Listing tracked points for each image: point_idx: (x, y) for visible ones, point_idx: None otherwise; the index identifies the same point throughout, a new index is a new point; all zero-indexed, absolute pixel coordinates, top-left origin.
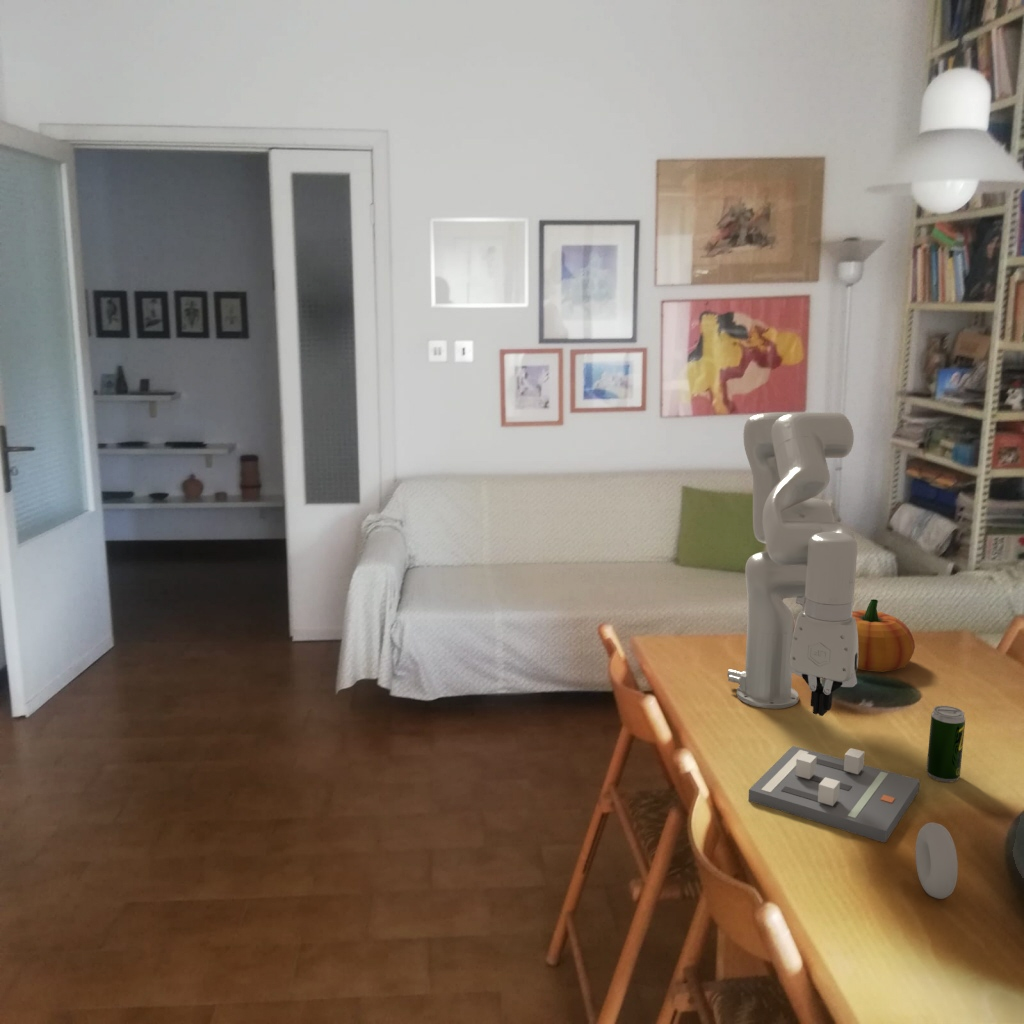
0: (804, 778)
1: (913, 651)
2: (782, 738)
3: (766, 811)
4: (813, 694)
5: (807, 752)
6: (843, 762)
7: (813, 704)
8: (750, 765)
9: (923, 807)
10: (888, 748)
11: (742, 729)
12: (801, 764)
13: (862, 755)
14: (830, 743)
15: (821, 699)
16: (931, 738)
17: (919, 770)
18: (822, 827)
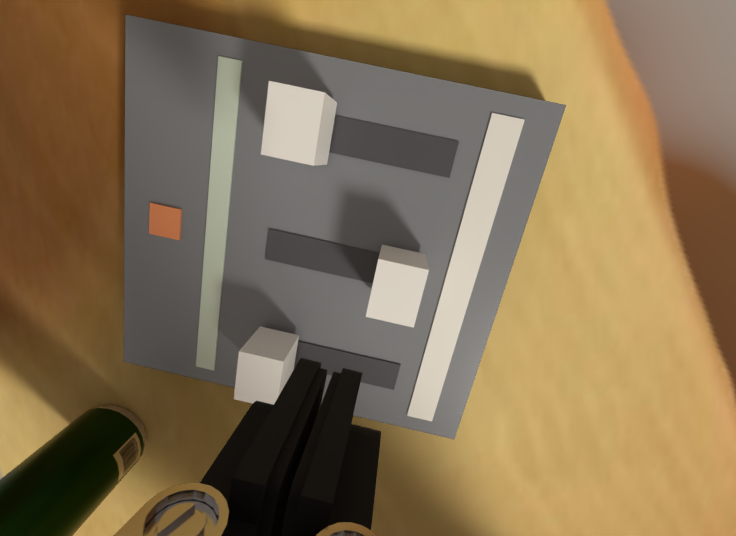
0: None
1: None
2: (484, 498)
3: (488, 63)
4: (353, 505)
5: (410, 412)
6: None
7: (352, 412)
8: (558, 331)
9: (117, 269)
10: None
11: (593, 516)
12: (409, 261)
13: (237, 379)
14: None
15: (271, 437)
16: (60, 502)
17: (164, 439)
18: (319, 39)
